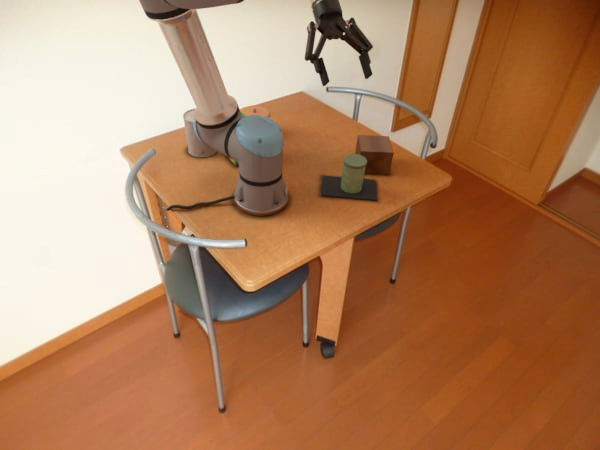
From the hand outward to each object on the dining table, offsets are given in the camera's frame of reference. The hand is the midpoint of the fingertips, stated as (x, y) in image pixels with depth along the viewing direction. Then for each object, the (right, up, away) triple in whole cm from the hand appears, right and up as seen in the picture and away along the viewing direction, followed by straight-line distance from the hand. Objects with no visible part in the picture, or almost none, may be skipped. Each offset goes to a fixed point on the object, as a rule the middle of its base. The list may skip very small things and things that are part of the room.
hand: (348, 80), depth 112 cm
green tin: (+2, -28, +12) cm, 30 cm away
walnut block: (+10, -20, +23) cm, 32 cm away
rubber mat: (+2, -28, +13) cm, 31 cm away
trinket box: (-29, -6, +36) cm, 46 cm away
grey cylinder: (-45, -14, +26) cm, 54 cm away
